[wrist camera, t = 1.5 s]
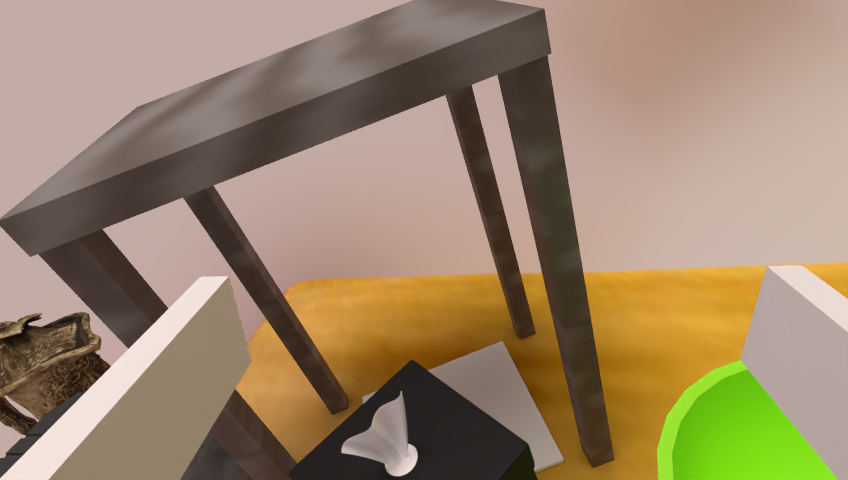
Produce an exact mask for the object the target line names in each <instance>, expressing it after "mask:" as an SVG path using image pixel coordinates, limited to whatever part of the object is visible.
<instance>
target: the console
mask: <svg viewBox="0 0 848 480" xmlns="http://www.w3.org/2000/svg"><path fill="white" fill-rule="evenodd" d="M549 54H551V48H550V42H549V35H548V29H547V23H546V18H545V10H544V9H543V8H537V7H531V6H526V5H520V4H515V3H509V2H503V1H497V0H413V1H410V2H408V3H405V4H403V5H400V6H397V7H395V8H392V9H390V10H387V11H385V12H382V13H379V14H377V15H374V16H371V17H369V18H367V19H364V20H361V21H359V22H356V23H354V24H351V25H348V26H346V27H343V28H340V29H338V30H335V31H333V32H330V33H328V34H325V35H323V36H320V37H317V38H315V39H312V40H309V41H307V42H304V43H302V44H299V45H297V46H294V47H292V48H289V49H286V50H284V51H281V52H278V53H276V54H273V55H271V56H268V57H266V58H263V59H260V60H258V61H255V62H253V63H250V64H247V65H245V66H242V67H240V68H237V69H235V70H232V71H229V72H227V73H224V74H222V75H219V76H216V77H214V78H211V79H209V80H206V81H204V82H201V83H199V84H196V85H193V86H191V87H188V88H186V89H183V90H180V91H178V92H175V93H172V94H170V95H167V96H165V97H162V98H160V99H157V100H154V101H152V102H149V103H147V104H144V105H141V106H139V107H137V108H136V109H134V110H133V111H132V112H131V113H129V114H128V115H127V116H126V117H125V118H123V119H122V120H121V121H120V122H118V123H117V124H116V125H115V126H113V127H112V128H111V129H110V130H108V131H107V132H106V133H105V134H103V136H101V137H100V138H99V139H97V140H96V141H95V142H94V143H93V144H92V145H90V146H89V147H88V148H86V149H85V150H84V151H83V152H81V153H80V154H79V155H78V156H76V157H75V158H74V159H73V160H72V161H70V162H69V163H68V164H67V165H65V166H64V167H63V168H62V169H61V170H59V171H58V172H57V173H56V174H54V175H53V176H52V177H51V178H49V179H48V180H47V181H46V182H45V183H43V184H42V185H41V186H40V187H38V188H37V189H36V190H35V191H33V192H32V193H31V194H30V195H29V196H27V197H26V198H25V199H24V200H22V201H21V202H20V203H19V204H18V205H16V206H15V207H14V208H13V209H11V210H10V211H9V212H8V213H6V214H5V215H4V216H3V217H2V218H0V226H1V227H2V228H3V229H4V230H5V231H6V233H7V234H8V235H9V236H10V237H11V238H12V239H13V240H14V241H15V242H16V243H17V244H18V245H19V246H20V247H21V248H22V249H23V250H24V251H25V252H26V253H27V254H28V255H29V256H30V257H31V256H34V255H36V254H38V255H39V256H40V257H41V258H42V259H43V260H44V261H45V262H46V263H47V264H48V265H49V266H50V267H51V268H52V269H53V270H54V271H55V272H56V273H57V274H58V275H59V276H60V278H61V279H62V280H63V281H64V282H65V283H66V284H67V285H68V286H69V287H70V288H71V289H72V290H73V291H74V292H75V293H76V294H77V295H78V296H79V297H80V298H81V299H82V301H84V303H85V304H86V305H87V306H88V307H89V308H90V309H91V310H92V311H93V312H94V313H95V314H96V315H97V316H98V317H99V318H100V319H101V320H102V321H103V323H104V324H105V325H106V326H107V327H108V328H109V329H110V330H111V331H112V332H113V333H114V334H115V335H116V336H117V337H118V338H119V339H120V340H121V341H122V342H123V343H124V344H125V346H126V347H128V349H129V348H130V347H131V346H132V345H133V344H134V343H135V342H136V341H137V340H138V339H139V338H140V337H141V336H142V335H143V334H144V333H145V332H146V331H147V330H148V329H149V328H150V327H151V326H152V325H153V324H154V323H155V322H156V321H157V320H158V319H159V318H160V317H161V316H162V315H163V314H164V313H165V312H166V311H167V310H168V308H167V306H166V305H165V304H164V303H163V302H162V301H161V299H160V298H159V297H158V296H157V294H156V293H155V292H154V291H153V290H152V288H151V287H150V286H149V285H148V284H147V282H146V281H145V280H144V279H143V278H142V276H141V275H140V274H139V273H138V271H137V270H136V269H135V268H134V267H133V266H132V264H131V263H130V262H129V261H128V260H127V258H126V257H125V256H124V255H123V254H122V252H121V251H120V250H119V249H118V248H117V246H116V245H115V244H114V243H113V241H112V240H111V239H110V238H109V237H108V236H107V234H106V233H105V232H104V231H103V228H106V227H108V226H111V225H113V224H116V223H118V222H121V221H124V220H126V219H129V218H131V217H134V216H136V215H139V214H142V213H144V212H147V211H149V210H152V209H154V208H157V207H159V206H162V205H164V204H167V203H169V202H172V201H175V200H177V199H180V198H182V197H183V198H184V199H185V201H186V202H187V204H188V205H189V207H190V208H191V210H192V211H193V213H194V214H195V215H196V217H197V218H198V220H199V221H200V223H201V224H202V226H203V227H204V229H205V230H206V231H207V233H208V234H209V236H210V237H211V239H212V240H213V242H214V243H215V244H216V246H217V248H218V249H219V250H220V252H221V253H222V255H223V256H224V258H225V259H226V261H227V262H228V264H229V265H230V267H231V268H232V269H233V271H234V272H235V274H236V275H237V277H238V278H239V280H240V281H241V283H242V284H243V285H244V287H245V288H246V290H247V291H248V292H249V294H250V296H251V297H252V298H253V300H254V301H255V303H256V304H257V306H258V307H259V309H260V310H261V312H262V313H263V314H264V316H265V318H266V319H267V320H268V322H269V323H270V325H271V326H272V328H273V329H274V331H275V332H276V334H277V335H278V336H279V338H280V339H281V341H282V342H283V344H284V345H285V347H286V348H287V350H288V351H289V352H290V354H291V355H292V357H293V358H294V360H295V361H296V363H297V364H298V366H299V367H300V368H301V370H302V371H303V373H304V374H305V376H306V377H307V379H308V380H309V382H310V383H311V384H312V386H313V387H314V389H315V390H316V392H317V393H318V395H319V396H320V398H321V399H322V400H323V402H324V403H325V405H326V406H327V408H328V409H329V411H330V412H331V414H335V413H337V412H340V411H342V410H345V409H347V408H348V403H347V395H346V393H345V392H344V390H343V388H342V387H341V385H340V384H339V382H338V381H337V379H336V377H335V376H334V374H333V373H332V371H331V370H330V368H329V366H328V365H327V363H326V362H325V360H324V359H323V357H322V355H321V354H320V352H319V351H318V349H317V348H316V346H315V344H314V343H313V341H312V340H311V338H310V337H309V335H308V333H307V332H306V330H305V329H304V327H303V326H302V324H301V322H300V321H299V319H298V318H297V316H296V315H295V313H294V311H293V310H292V308H291V307H290V305H289V304H288V302H287V300H286V299H285V297H284V296H283V294H282V293H281V291H280V289H279V288H278V286H277V285H276V283H275V282H274V280H273V278H272V277H271V275H270V274H269V272H268V271H267V269H266V267H265V266H264V264H263V263H262V261H261V260H260V258H259V256H258V255H257V253H256V252H255V250H254V249H253V247H252V246H251V244H250V242H249V241H248V239H247V238H246V236H245V234H244V233H243V231H242V230H241V228H240V227H239V225H238V223H237V222H236V220H235V219H234V217H233V216H232V214H231V212H230V211H229V209H228V208H227V206H226V205H225V203H224V201H223V200H222V198H221V197H220V195H219V194H218V192H217V191H216V189H215V187H214V186H213V185H216V184H218V183H221V182H223V181H226V180H228V179H231V178H234V177H236V176H239V175H241V174H244V173H246V172H249V171H252V170H254V169H257V168H259V167H261V166H264V165H267V164H270V163H272V162H275V161H277V160H280V159H282V158H285V157H287V156H290V155H293V154H295V153H298V152H300V151H303V150H305V149H308V148H310V147H313V146H315V145H318V144H321V143H323V142H326V141H329V140H331V139H334V138H336V137H339V136H341V135H344V134H346V133H349V132H352V131H354V130H357V129H359V128H362V127H364V126H367V125H369V124H372V123H375V122H377V121H380V120H382V119H385V118H387V117H390V116H393V115H395V114H398V113H400V112H403V111H405V110H408V109H410V108H413V107H415V106H418V105H421V104H423V103H426V102H428V101H431V100H434V99H436V98H439V97H441V96H444V95H446V98H447V101H448V105H449V108H450V112H451V115H452V118H453V122H454V125H455V128H456V132H457V136H458V139H459V142H460V146H461V149H462V153H463V156H464V159H465V163H466V166H467V170H468V173H469V177H470V180H471V183H472V187H473V190H474V193H475V197H476V200H477V203H478V207H479V211H480V213H481V217H482V221H483V224H484V228H485V231H486V235H487V238H488V241H489V245H490V248H491V252H492V255H493V258H494V262H495V265H496V268H497V272H498V276H499V279H500V282H501V286H502V289H503V293H504V296H505V299H506V303H507V306H508V310H509V313H510V316H511V320H512V323H513V327H514V329H515V331H516V333H517V335H518V336H519V338H520V339H523V338H525V337H528V336H530V335H533V334H535V333H536V332H535V328H534V324H533V321H532V317H531V313H530V309H529V305H528V301H527V297H526V294H525V290H524V286H523V282H522V278H521V274H520V271H519V267H518V263H517V259H516V255H515V251H514V248H513V244H512V240H511V236H510V232H509V228H508V224H507V220H506V217H505V213H504V209H503V205H502V201H501V197H500V193H499V189H498V186H497V182H496V178H495V174H494V170H493V166H492V162H491V159H490V155H489V151H488V147H487V143H486V139H485V136H484V132H483V128H482V124H481V120H480V116H479V112H478V109H477V105H476V101H475V97H474V93H473V90H472V84H475V83H477V82H480V81H482V80H485V79H487V78H490V77H492V76H495V75H498V79H499V83H500V88H501V92H502V97H503V101H504V105H505V110H506V114H507V119H508V123H509V128H510V132H511V137H512V141H513V145H514V150H515V154H516V159H517V163H518V168H519V172H520V176H521V180H522V185H523V190H524V194H525V198H526V203H527V207H528V212H529V216H530V221H531V225H532V229H533V234H534V238H535V242H536V247H537V251H538V255H539V260H540V265H541V269H542V274H543V278H544V283H545V287H546V291H547V296H548V300H549V305H550V309H551V313H552V318H553V322H554V327H555V331H556V336H557V340H558V344H559V349H560V353H561V358H562V362H563V367H564V371H565V375H566V380H567V384H568V389H569V393H570V398H571V402H572V406H573V411H574V415H575V420H576V424H577V428H578V433H579V437H580V442H581V446H582V449H583V451H584V453H585V455H586V456H587V458H588V460H589V462H590V463H591V465H592V467H593V468H594V467H597V466H599V465H602V464H604V463H607V462H609V461H612V460H614V457H613V451H612V444H611V438H610V432H609V426H608V420H607V414H606V408H605V402H604V396H603V390H602V384H601V378H600V372H599V366H598V359H597V353H596V347H595V341H594V335H593V329H592V323H591V317H590V311H589V305H588V299H587V293H586V287H585V281H584V274H583V268H582V262H581V257H580V251H579V244H578V239H577V232H576V226H575V220H574V214H573V208H572V202H571V196H570V189H569V184H568V177H567V171H566V165H565V160H564V153H563V147H562V141H561V135H560V129H559V123H558V117H557V111H556V104H555V98H554V93H553V86H552V80H551V75H550V68H549V62H548V56H547V55H549ZM427 371H429V372H430V373H432V374H433V375H434V376H436V377H437V378H439V379H440V380H441V381H443V382H444V383H445V384H447V385H448V386H450V387H451V388H452V389H454V390H455V391H456V392H458V393H459V394H461V395H462V396H463V397H465V398H466V399H468V400H469V401H470V402H472V403H473V404H474V405H476V406H477V407H479V408H480V409H481V410H483V411H484V412H486V413H487V414H488V415H490V416H491V417H492V418H494V419H495V420H497V421H498V422H499V423H501V424H502V425H504V426H505V427H506V428H508V429H509V430H510V431H512V432H513V433H515V434H516V435H517V436H519V437H520V438H521V439H523V440H524V441H526V442H527V443H528V444H529V447H530V450H531V453H532V456H533V459H534V462H535V463H534V464H535V467H534V471H535V473H537V472H539V471H542V470H544V469H547V468H549V467H552V466H554V465H557V464H559V463H562V462H564V459H563V457H562V455H561V453H560V451H559V449H558V447H557V445H556V443H555V441H554V439H553V437H552V435H551V433H550V431H549V430H548V428H547V426H546V424H545V422H544V420H543V418H542V416H541V414H540V412H539V410H538V408H537V406H536V404H535V402H534V401H533V399H532V397H531V395H530V393H529V391H528V389H527V387H526V385H525V383H524V381H523V379H522V377H521V375H520V374H519V372H518V370H517V368H516V366H515V364H514V362H513V360H512V358H511V356H510V354H509V352H508V350H507V348H506V346H505V345H504V343H503V341H500V342H498V343H495V344H493V345H490V346H488V347H485V348H483V349H480V350H478V351H475V352H473V353H470V354H468V355H465V356H463V357H460V358H458V359H455V360H452V361H450V362H447V363H445V364H442V365H440V366H437V367H435V368H432V369H430V370H427ZM377 391H378V390H377ZM377 391H375V392H372V393H370V394H367V395H365V396H362V401H363V404H364V403H365V402H366V401H367V400H368V399H369V398H370V397H371V396H372V395H374V394H375V393H376V392H377ZM209 433H210V435H211V436H212V437H213V438H214V439H215V440H216V441H217V442H218V443H219V444H220V445H221V446H222V447H223V448H224V449H225V450H226V451H227V452H228V453H229V454H230V455H231V457H232V458H233V459H234V460H235V461H236V462H237V463H238V464H239V465H240V466H241V467H242V468H243V469H244V470H245V471H246V472H247V473H248V474H249V475H250V476H251V477H252V478H253V480H292V479H291V478H290V476H289V471H290V470H291V469H292V468H294V467H295V466H296V465H297V463H296V462H295V460H294V459H293V458H292V457H291V455H290V454H289V453H288V452H287V451H286V449H285V448H284V447H283V446H282V445H281V443H280V442H279V441H278V440H277V439H276V437H275V436H274V435H273V434H272V433H271V431H270V430H269V429H268V428H267V427H266V425H265V424H264V423H263V422H262V421H261V419H260V418H259V417H258V416H257V415H256V413H255V412H254V411H253V410H252V409H251V407H250V406H249V405H248V404H247V403H246V401H245V400H244V399H243V398H242V397H241V395H240V394H239V393H238V392H237V391H236V389H235V390H234V391H233V393H232V394H231V396H230V398H229V399H228V401H227V403H226V404H225V406H224V408H223V409H222V411H221V413H220V414H219V416H218V418H217V419H216V421H215V423H214V424H213V426H212V428H211V429H210V431H209Z"/></svg>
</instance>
